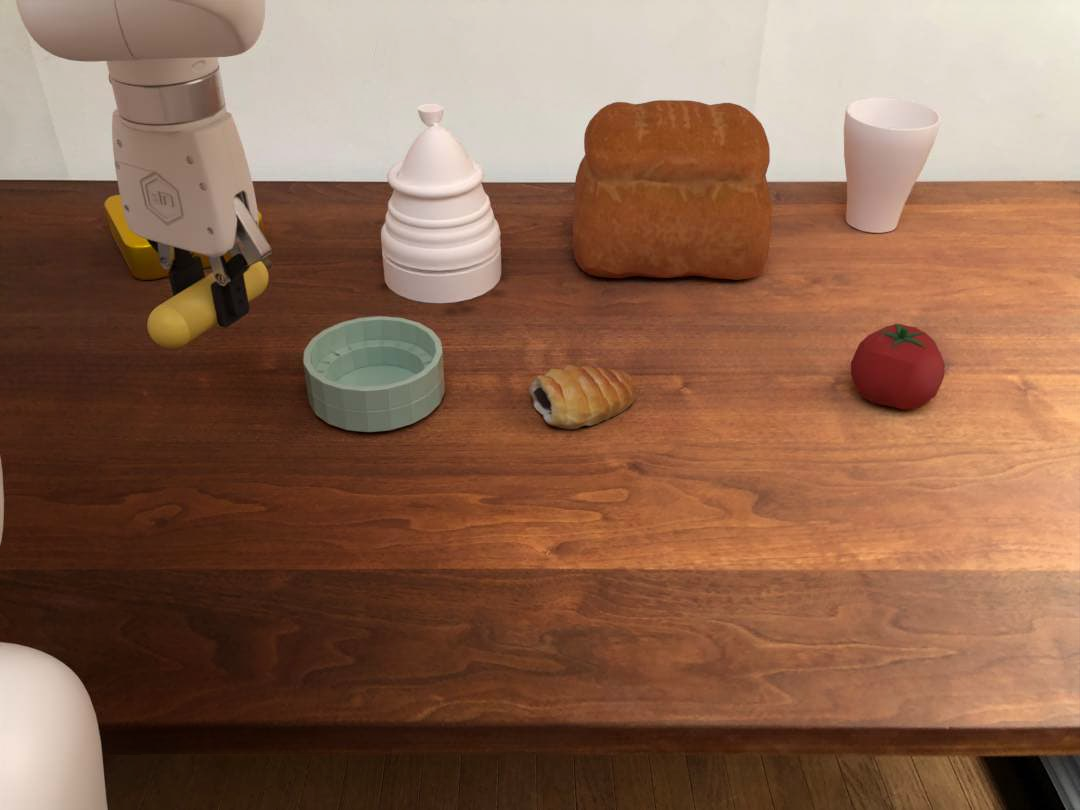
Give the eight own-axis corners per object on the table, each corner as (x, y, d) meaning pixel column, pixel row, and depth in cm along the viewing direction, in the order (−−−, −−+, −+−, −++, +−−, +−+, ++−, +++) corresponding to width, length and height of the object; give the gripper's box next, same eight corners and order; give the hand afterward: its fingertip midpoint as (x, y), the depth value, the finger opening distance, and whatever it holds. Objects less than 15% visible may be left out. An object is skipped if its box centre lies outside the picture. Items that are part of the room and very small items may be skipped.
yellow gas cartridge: (179, 358, 82) (163, 317, 80) (146, 354, 83) (130, 313, 82) (289, 283, 92) (277, 245, 90) (258, 280, 93) (246, 243, 92)
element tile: (136, 285, 114) (126, 245, 111) (108, 230, 124) (99, 192, 121) (272, 254, 120) (266, 215, 117) (234, 204, 130) (228, 168, 127)
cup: (927, 242, 123) (954, 130, 115) (837, 241, 123) (858, 129, 115) (903, 204, 131) (926, 97, 124) (818, 203, 131) (836, 97, 124)
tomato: (833, 400, 97) (847, 333, 92) (868, 362, 102) (883, 297, 98) (918, 432, 93) (936, 363, 89) (950, 391, 98) (969, 324, 94)
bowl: (397, 452, 90) (392, 404, 87) (282, 413, 94) (274, 367, 92) (468, 381, 99) (467, 335, 96) (361, 349, 103) (356, 304, 100)
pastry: (614, 376, 100) (616, 342, 97) (649, 415, 95) (652, 380, 92) (523, 399, 96) (523, 364, 94) (554, 440, 92) (555, 405, 89)
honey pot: (375, 255, 120) (361, 99, 109) (485, 241, 122) (481, 88, 112) (394, 310, 109) (380, 144, 99) (514, 294, 112) (513, 131, 102)
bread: (571, 219, 127) (574, 80, 118) (748, 221, 127) (767, 82, 118) (573, 289, 113) (577, 138, 103) (773, 292, 113) (796, 141, 103)
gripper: (46, 92, 77) (105, 310, 87) (224, 131, 71) (264, 361, 81) (122, 63, 82) (169, 271, 93) (294, 97, 76) (323, 316, 87)
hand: (213, 311), depth 87 cm, fingers closed on yellow gas cartridge, 3 cm apart
